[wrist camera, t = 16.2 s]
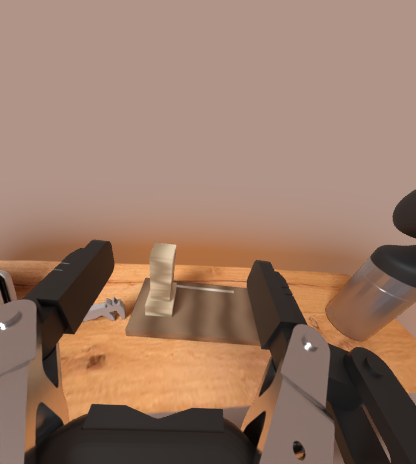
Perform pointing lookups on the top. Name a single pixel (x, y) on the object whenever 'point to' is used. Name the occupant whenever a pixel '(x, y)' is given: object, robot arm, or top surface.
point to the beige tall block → (161, 281)
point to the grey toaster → (6, 288)
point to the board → (199, 315)
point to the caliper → (106, 310)
